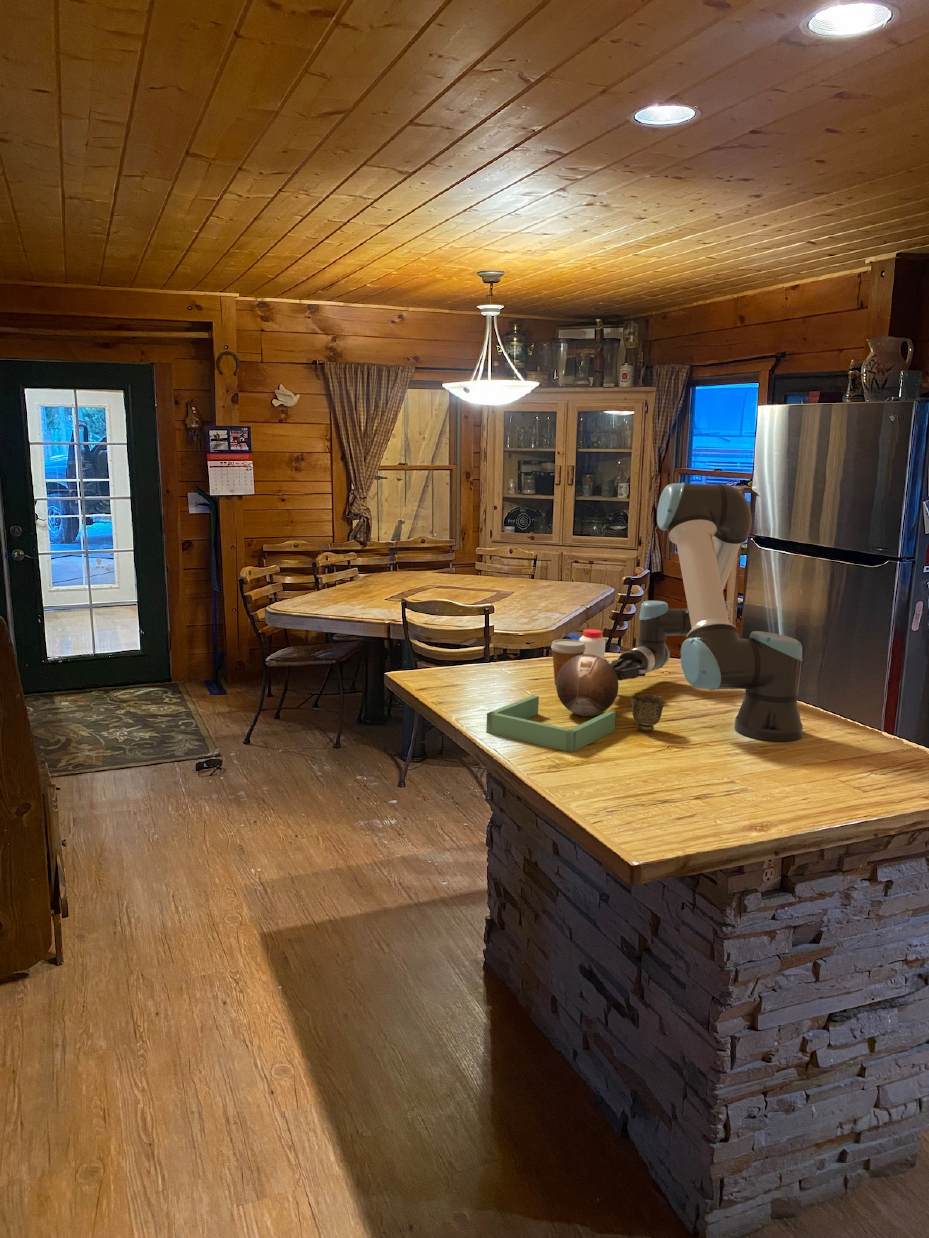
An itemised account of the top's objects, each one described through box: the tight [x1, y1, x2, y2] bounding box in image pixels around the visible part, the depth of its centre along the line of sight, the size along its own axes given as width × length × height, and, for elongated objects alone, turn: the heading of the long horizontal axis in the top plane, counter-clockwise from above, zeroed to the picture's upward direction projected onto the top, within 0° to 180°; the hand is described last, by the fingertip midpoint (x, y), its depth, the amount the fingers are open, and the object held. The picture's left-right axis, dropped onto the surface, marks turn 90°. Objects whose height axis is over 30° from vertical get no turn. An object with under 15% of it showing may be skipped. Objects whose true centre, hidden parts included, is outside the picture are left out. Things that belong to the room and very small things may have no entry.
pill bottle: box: [578, 628, 606, 659], centre depth 274 cm, size 8×8×11 cm
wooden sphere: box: [555, 654, 619, 717], centre depth 223 cm, size 15×15×15 cm
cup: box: [631, 693, 665, 733], centre depth 212 cm, size 8×7×8 cm
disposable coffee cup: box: [550, 638, 586, 686], centre depth 252 cm, size 10×10×12 cm
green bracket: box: [485, 695, 617, 753], centre depth 210 cm, size 20×22×4 cm
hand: (595, 678), depth 230 cm, fingers closed
